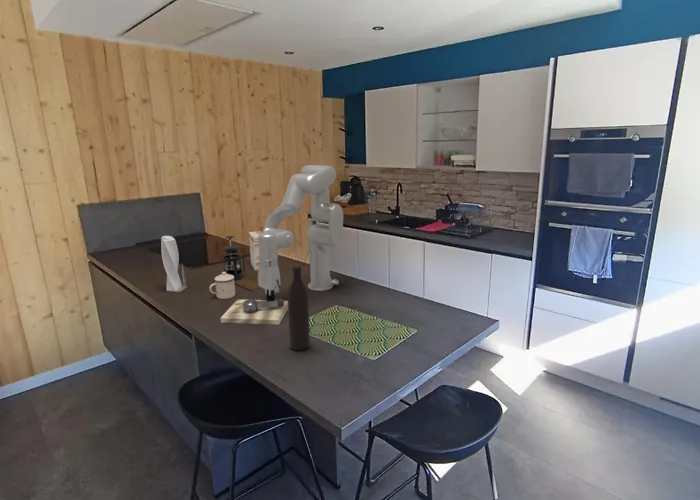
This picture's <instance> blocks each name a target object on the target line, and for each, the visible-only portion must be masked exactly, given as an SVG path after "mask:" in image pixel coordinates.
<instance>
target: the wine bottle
mask: <svg viewBox="0 0 700 500" xmlns="http://www.w3.org/2000/svg"><path fill="white" fill-rule="evenodd" d="M292 272H293V278H292V282H291V284H290V286H289V287H288V291H287V301H288V310H287V312H288V332H289V346H290V349H291V350H293V351H296V350H297V352H302V351H305V349H306V350H308V349H309V348H310V346H311V338H310V333H311V332H310V311H309V309H310V308H309V307H310V306H309V293H308V292H309V291H308V287H306V285H305V283H304V282H303V279H302V266H301V265H297V264H296V265H293V266H292Z"/></svg>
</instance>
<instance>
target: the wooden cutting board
mask: <svg viewBox="0 0 700 500" xmlns="http://www.w3.org/2000/svg"><path fill="white" fill-rule="evenodd" d="M246 300H247V299H236V300H235V301H234V303H233V304H232V305H231V306H230V307H229V308H228V309H227V310H226V311H225V313H224V314H223V315H222V316H221V317H220V323H221V324H228V323H229V324H248V325H250V324H253V325H274V326H275V325H276V326H277V325H278V326H279V325H280V324H281V322H282V320H283V318H284V317H285V315H286V313H287V312H288V300H284V306H282V307H268V308H258V309H257V310H255V311H251V312H247V311H244V310H243V305H235V303H243V302H244V301H246ZM255 300H256V301H264V300H265V299H255Z"/></svg>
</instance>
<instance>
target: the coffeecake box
mask: <svg viewBox="0 0 700 500" xmlns="http://www.w3.org/2000/svg"><path fill="white" fill-rule="evenodd" d="M261 233H262V231H260V230H258V231H248V238H249V252H250V253H249V254H250V265H251V266H252V268H253V270H254V271H257V272H258V268H259V264H260V260H259V243H258V236H259V234H261Z"/></svg>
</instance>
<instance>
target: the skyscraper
mask: <svg viewBox="0 0 700 500" xmlns="http://www.w3.org/2000/svg"><path fill="white" fill-rule="evenodd" d="M160 238H161V239H160V241H161V247H160V248H161V258H162V263H163V268H164V269H165V272H166V292H170V293H181V292H183V291H184V290H185V289H188V285H187V278H186V272H185V270H184V266H183V263H181V277H182V281H181V279H180V276H179V273H178V271H179V261H180V260H179V259H180V258H179V257H180V256H179V249H178V245H177V241H176V239H175V238H174V237H173V236H171V235H162V237H160Z"/></svg>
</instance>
